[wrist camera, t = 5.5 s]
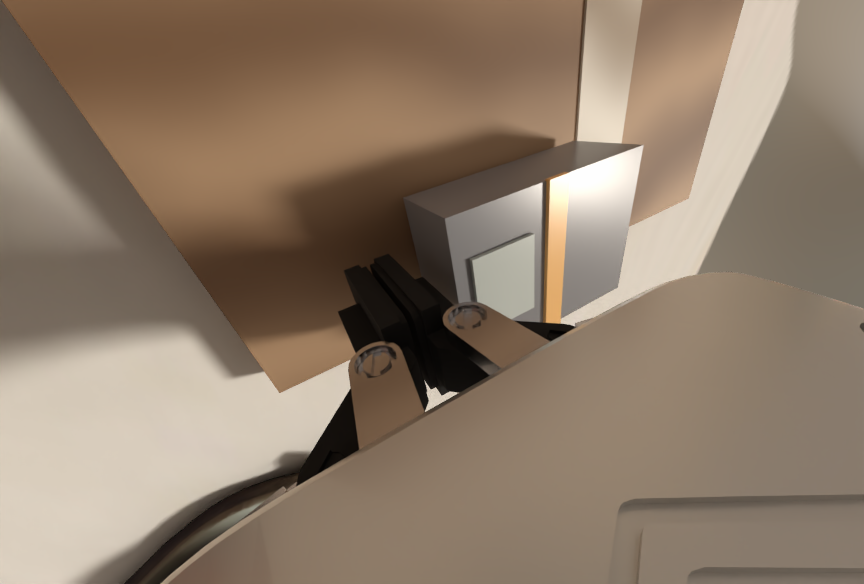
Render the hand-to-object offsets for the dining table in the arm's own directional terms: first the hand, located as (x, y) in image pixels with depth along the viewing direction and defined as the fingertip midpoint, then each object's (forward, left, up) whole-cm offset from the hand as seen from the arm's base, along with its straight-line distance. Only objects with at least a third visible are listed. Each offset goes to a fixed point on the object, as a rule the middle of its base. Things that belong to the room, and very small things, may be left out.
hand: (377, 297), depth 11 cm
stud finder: (0, +6, -1) cm, 6 cm away
